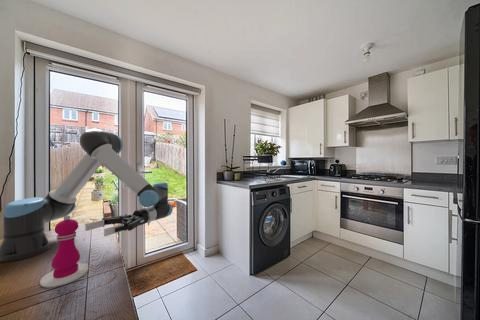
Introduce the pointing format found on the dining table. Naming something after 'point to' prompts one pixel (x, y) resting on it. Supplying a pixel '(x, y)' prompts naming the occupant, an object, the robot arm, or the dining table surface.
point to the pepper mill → (66, 249)
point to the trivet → (54, 282)
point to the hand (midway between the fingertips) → (94, 230)
